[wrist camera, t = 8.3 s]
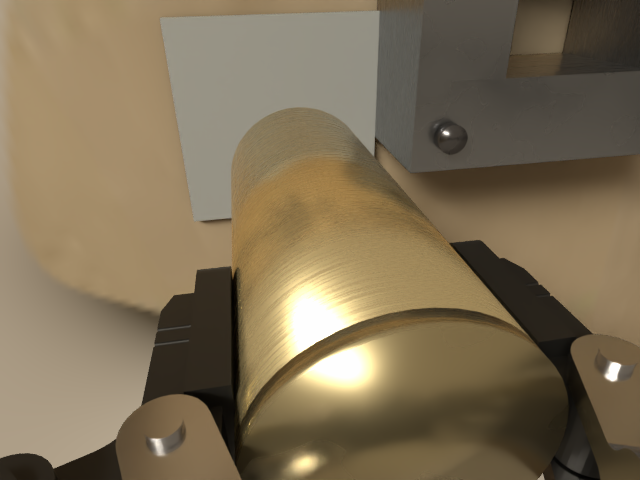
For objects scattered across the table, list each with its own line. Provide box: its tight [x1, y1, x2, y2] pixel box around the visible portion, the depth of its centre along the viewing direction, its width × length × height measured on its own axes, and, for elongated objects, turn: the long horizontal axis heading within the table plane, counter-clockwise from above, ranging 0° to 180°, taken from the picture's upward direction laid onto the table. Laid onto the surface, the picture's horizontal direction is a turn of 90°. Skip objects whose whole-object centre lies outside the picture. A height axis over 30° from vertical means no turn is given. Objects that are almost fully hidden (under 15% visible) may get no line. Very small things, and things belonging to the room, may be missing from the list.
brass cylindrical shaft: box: [231, 107, 569, 480], centre depth 12 cm, size 5×5×12 cm
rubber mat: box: [160, 11, 380, 221], centre depth 24 cm, size 10×10×1 cm
